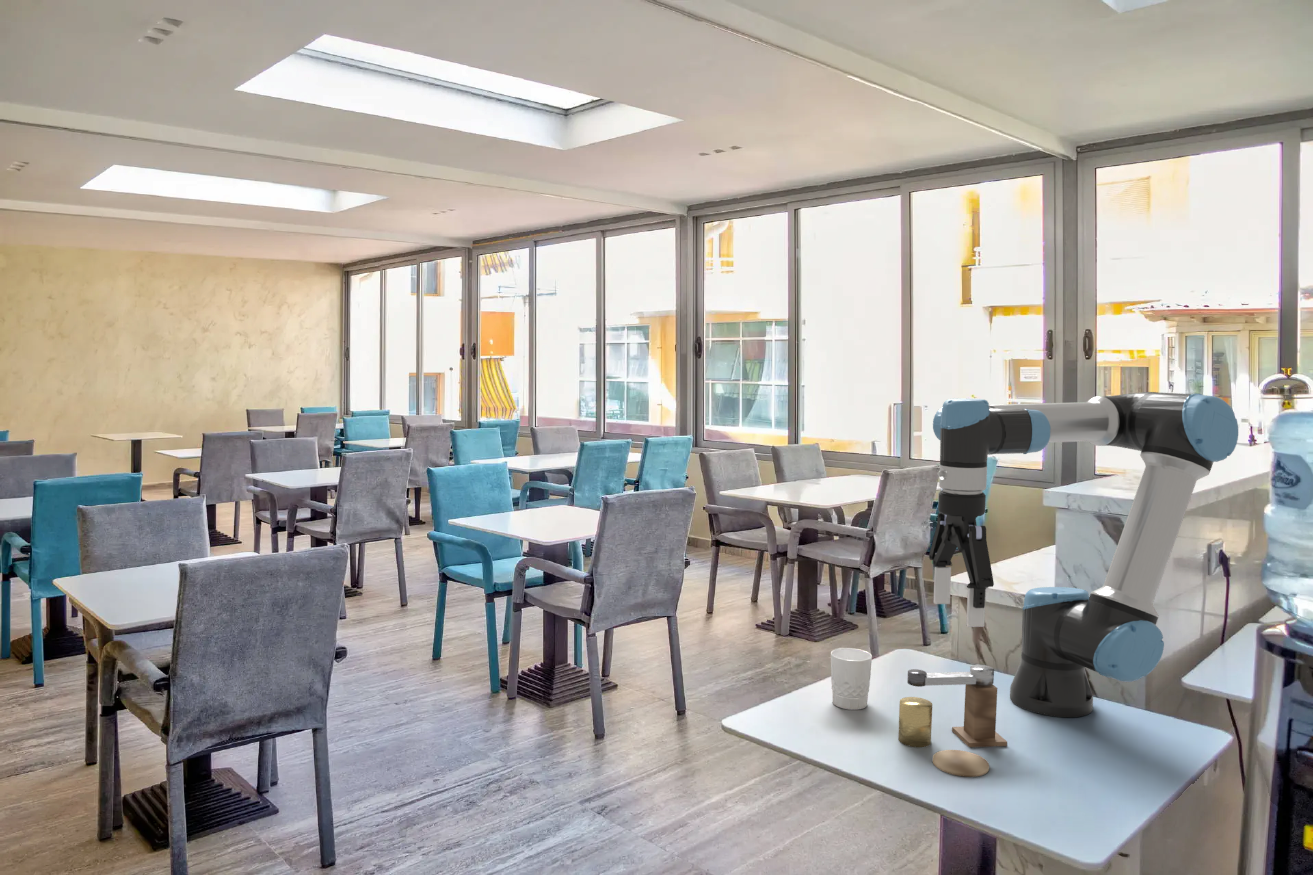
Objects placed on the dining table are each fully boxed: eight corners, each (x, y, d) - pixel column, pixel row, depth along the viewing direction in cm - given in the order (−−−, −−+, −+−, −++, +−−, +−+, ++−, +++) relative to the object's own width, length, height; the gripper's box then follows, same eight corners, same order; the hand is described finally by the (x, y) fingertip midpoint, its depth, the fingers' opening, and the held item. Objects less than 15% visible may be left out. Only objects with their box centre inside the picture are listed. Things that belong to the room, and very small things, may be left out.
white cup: (870, 713, 177) (872, 662, 176) (828, 709, 179) (830, 659, 178) (869, 698, 185) (871, 649, 184) (829, 694, 186) (831, 646, 186)
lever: (987, 677, 167) (987, 664, 167) (997, 685, 163) (998, 672, 163) (903, 679, 165) (904, 666, 165) (912, 687, 162) (912, 674, 161)
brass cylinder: (923, 734, 168) (924, 696, 167) (936, 747, 162) (937, 708, 162) (893, 735, 167) (895, 697, 166) (905, 748, 162) (906, 709, 161)
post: (988, 729, 170) (990, 676, 169) (1007, 746, 163) (1009, 690, 162) (951, 731, 169) (954, 677, 168) (968, 747, 162) (971, 692, 161)
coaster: (974, 752, 160) (974, 748, 160) (998, 775, 151) (999, 772, 151) (924, 754, 159) (924, 750, 159) (946, 778, 150) (946, 774, 150)
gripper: (912, 480, 167) (909, 595, 169) (973, 503, 143) (968, 637, 145) (952, 480, 168) (948, 594, 170) (1019, 502, 143) (1014, 636, 145)
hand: (957, 614), depth 157 cm, fingers open, 13 cm apart
